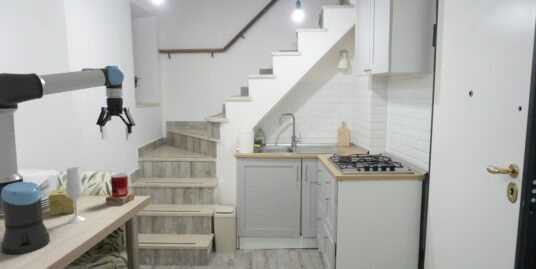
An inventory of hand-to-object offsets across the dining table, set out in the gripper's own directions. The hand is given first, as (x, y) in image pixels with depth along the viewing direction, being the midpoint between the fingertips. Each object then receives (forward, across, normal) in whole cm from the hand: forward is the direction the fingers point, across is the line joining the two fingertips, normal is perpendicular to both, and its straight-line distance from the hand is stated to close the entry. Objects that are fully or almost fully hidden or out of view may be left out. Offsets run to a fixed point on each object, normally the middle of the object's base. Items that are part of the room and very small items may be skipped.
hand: (116, 139), depth 174 cm
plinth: (+34, +2, -4) cm, 34 cm away
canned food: (+30, +2, -4) cm, 31 cm away
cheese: (+34, +20, +15) cm, 42 cm away
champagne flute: (+34, +5, +24) cm, 42 cm away
